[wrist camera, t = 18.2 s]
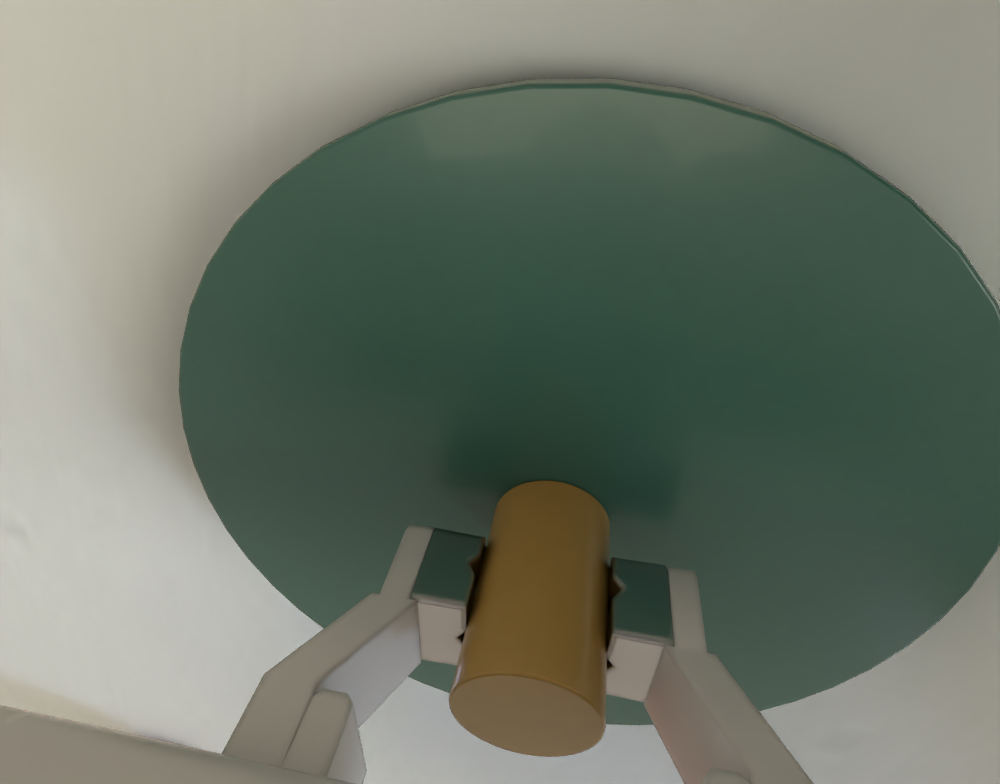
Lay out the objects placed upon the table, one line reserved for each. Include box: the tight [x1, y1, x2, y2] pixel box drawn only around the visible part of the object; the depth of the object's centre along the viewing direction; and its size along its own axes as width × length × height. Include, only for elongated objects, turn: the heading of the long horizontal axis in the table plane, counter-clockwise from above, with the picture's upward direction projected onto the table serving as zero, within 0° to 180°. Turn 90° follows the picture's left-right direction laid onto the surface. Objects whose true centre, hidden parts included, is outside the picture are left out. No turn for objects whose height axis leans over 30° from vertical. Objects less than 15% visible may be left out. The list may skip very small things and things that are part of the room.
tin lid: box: [179, 78, 1000, 757], centre depth 11 cm, size 16×16×5 cm
